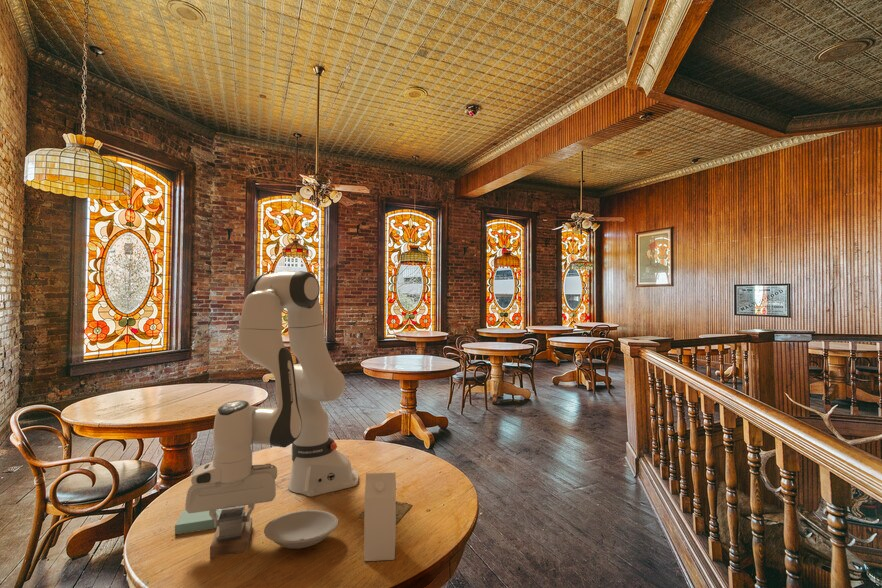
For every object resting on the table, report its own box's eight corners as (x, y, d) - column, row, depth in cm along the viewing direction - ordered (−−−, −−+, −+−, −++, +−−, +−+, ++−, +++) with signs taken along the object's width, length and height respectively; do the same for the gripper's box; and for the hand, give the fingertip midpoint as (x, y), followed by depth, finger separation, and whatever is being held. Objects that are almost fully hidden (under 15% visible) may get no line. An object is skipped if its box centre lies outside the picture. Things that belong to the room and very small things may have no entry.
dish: (254, 565, 93) (254, 544, 93) (274, 530, 107) (274, 511, 107) (332, 562, 94) (332, 540, 95) (342, 527, 109) (342, 508, 109)
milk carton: (366, 543, 102) (367, 467, 102) (395, 542, 102) (395, 466, 102) (363, 562, 95) (364, 480, 95) (394, 560, 95) (395, 479, 95)
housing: (245, 521, 107) (245, 500, 107) (241, 538, 99) (241, 515, 99) (224, 525, 105) (224, 503, 105) (218, 542, 98) (218, 519, 98)
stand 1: (227, 512, 116) (227, 503, 116) (222, 527, 109) (222, 517, 109) (183, 519, 112) (183, 509, 112) (174, 534, 105) (174, 525, 105)
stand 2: (252, 527, 109) (252, 517, 109) (247, 551, 98) (247, 541, 98) (218, 532, 106) (218, 523, 106) (209, 558, 96) (209, 547, 96)
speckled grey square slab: (356, 519, 113) (356, 515, 113) (377, 499, 125) (377, 496, 125) (395, 528, 109) (395, 524, 109) (413, 506, 121) (413, 503, 121)
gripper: (277, 458, 109) (277, 509, 109) (190, 468, 102) (189, 523, 102) (276, 467, 103) (276, 522, 103) (183, 479, 96) (183, 537, 96)
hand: (232, 523), depth 102 cm, fingers closed on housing, 5 cm apart
